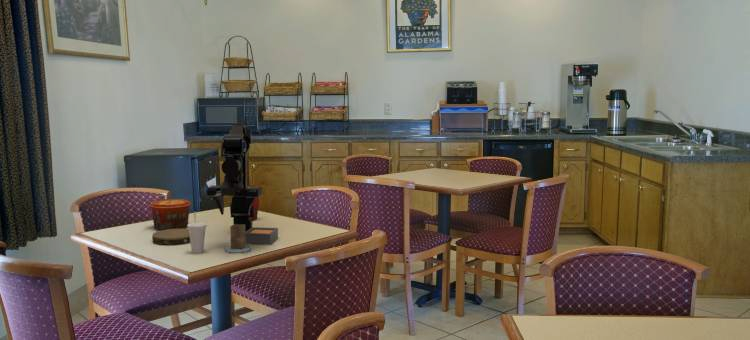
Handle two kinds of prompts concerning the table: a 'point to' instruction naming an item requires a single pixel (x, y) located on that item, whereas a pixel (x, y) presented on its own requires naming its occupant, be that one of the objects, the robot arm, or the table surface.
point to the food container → (170, 214)
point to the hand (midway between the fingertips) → (235, 215)
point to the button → (261, 231)
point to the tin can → (171, 237)
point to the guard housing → (261, 236)
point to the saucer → (246, 249)
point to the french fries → (255, 208)
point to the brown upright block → (238, 236)
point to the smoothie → (197, 235)
